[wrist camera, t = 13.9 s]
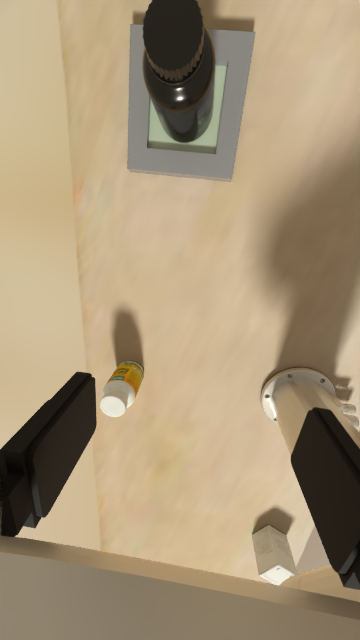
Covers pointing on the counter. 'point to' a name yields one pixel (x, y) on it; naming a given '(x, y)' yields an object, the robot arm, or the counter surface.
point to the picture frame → (223, 131)
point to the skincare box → (273, 555)
